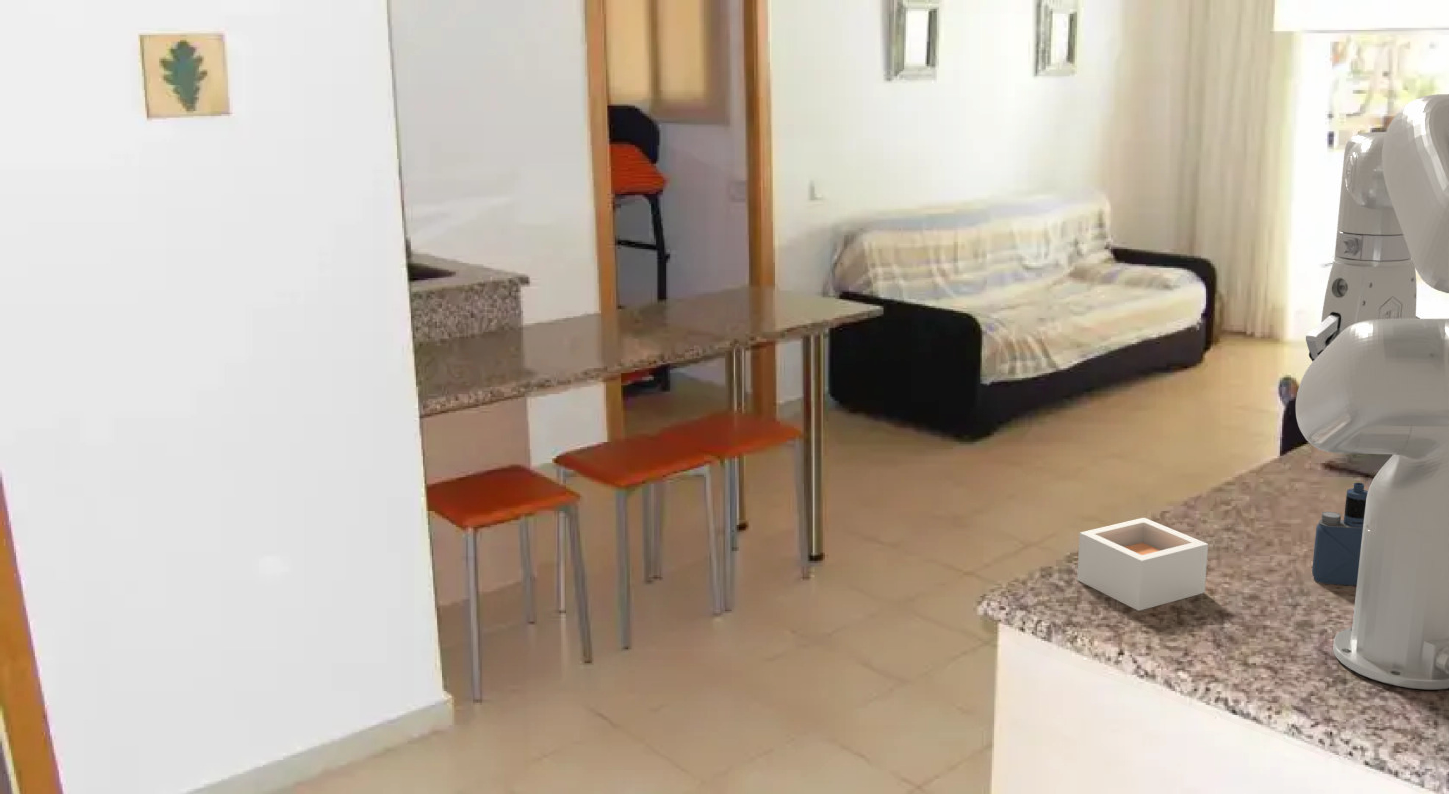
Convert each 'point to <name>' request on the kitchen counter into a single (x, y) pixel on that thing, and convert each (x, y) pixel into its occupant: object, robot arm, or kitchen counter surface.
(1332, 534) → the vaping device
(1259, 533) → the kitchen counter surface
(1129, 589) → the white hollow square box
